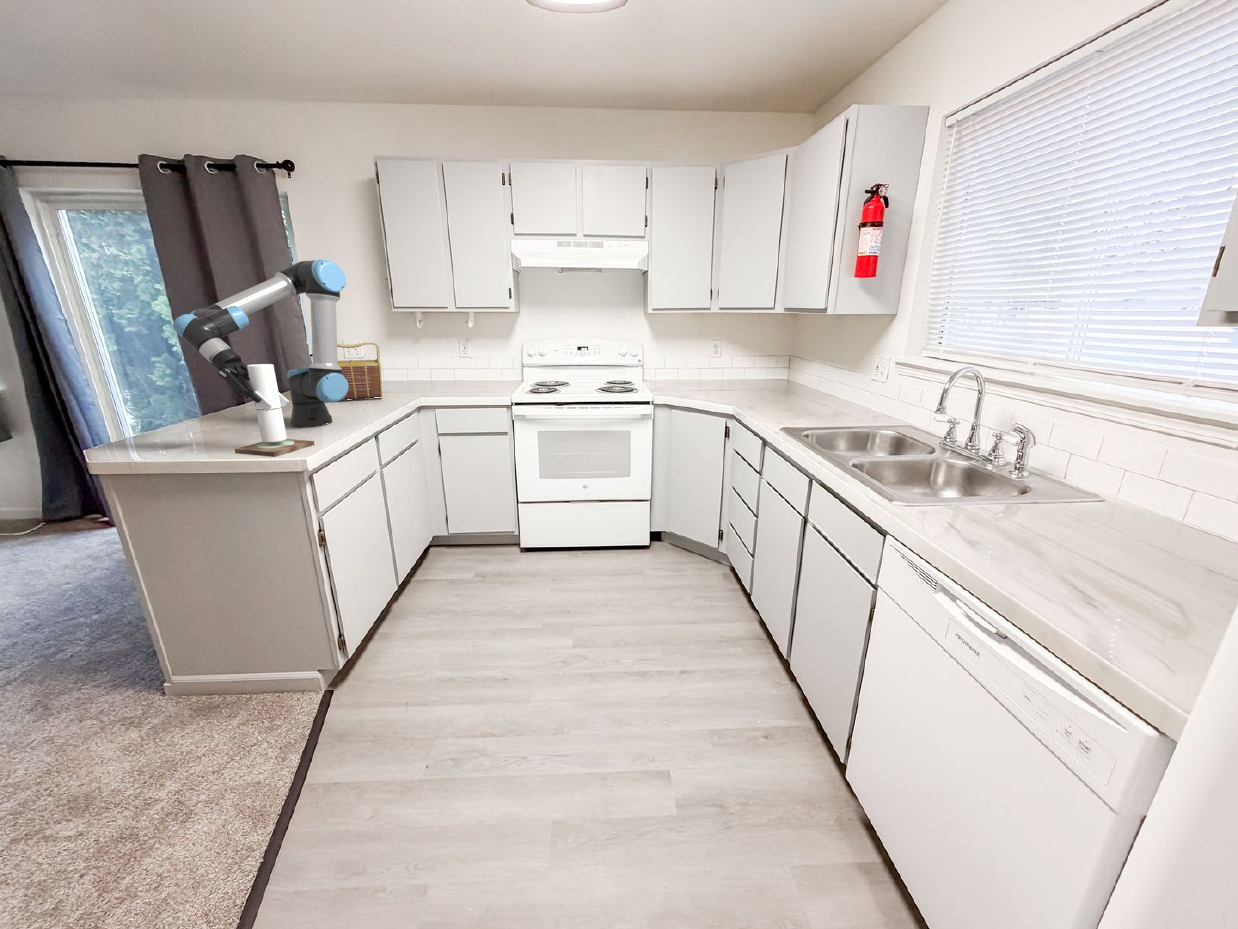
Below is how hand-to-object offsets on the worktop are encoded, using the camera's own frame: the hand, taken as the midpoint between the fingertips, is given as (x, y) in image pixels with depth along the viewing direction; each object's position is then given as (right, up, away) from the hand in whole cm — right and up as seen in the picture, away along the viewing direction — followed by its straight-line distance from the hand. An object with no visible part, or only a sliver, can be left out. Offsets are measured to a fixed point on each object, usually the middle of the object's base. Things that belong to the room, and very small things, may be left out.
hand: (278, 406), depth 167 cm
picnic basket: (-30, +16, +107) cm, 113 cm away
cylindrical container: (-4, -11, +3) cm, 12 cm away
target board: (-4, -14, +4) cm, 15 cm away
